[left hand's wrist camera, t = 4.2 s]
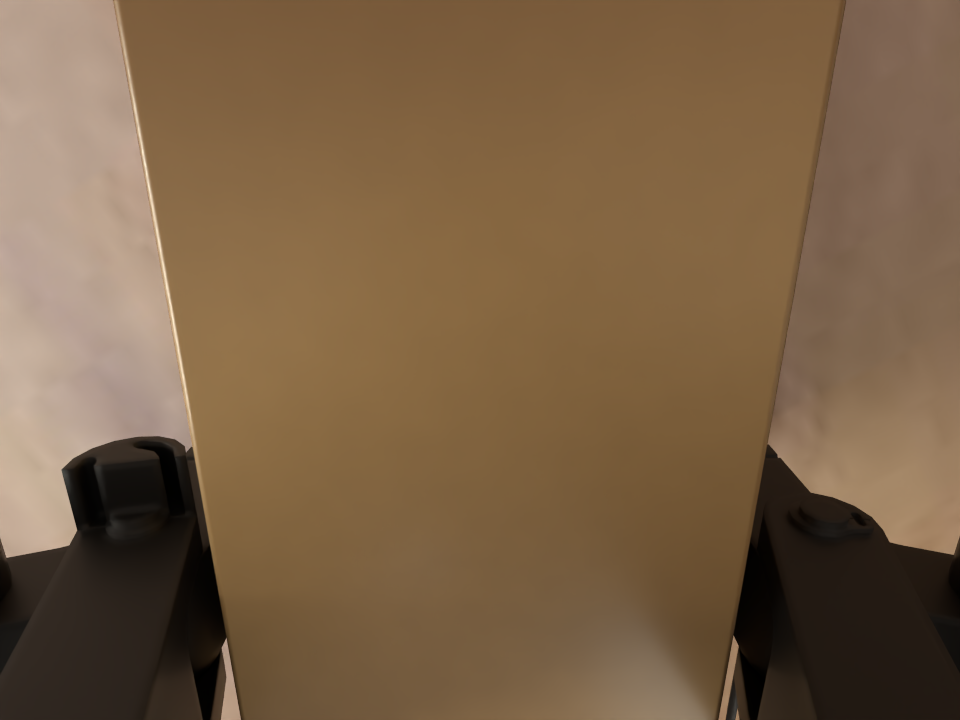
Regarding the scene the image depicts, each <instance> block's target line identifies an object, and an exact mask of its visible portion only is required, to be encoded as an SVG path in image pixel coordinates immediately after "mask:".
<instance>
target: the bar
mask: <svg viewBox="0 0 960 720" xmlns="http://www.w3.org/2000/svg"><path fill="white" fill-rule="evenodd" d="M113 2H114V8H115V13H116V19H117V24H118V30H119V36H120V41H121V47H122V52H123V58H124V64H125V69H126V75H127V81H128V86H129V92H130V97H131V103H132V109H133V114H134V120H135V126H136V131H137V137H138V142H139V148H140V154H141V159H142V165H143V171H144V176H145V182H146V187H147V193H148V199H149V204H150V210H151V216H152V221H153V227H154V232H155V238H156V244H157V249H158V255H159V260H160V266H161V272H162V277H163V283H164V289H165V294H166V300H167V305H168V311H169V317H170V322H171V328H172V334H173V339H174V345H175V350H176V356H177V362H178V367H179V373H180V379H181V384H182V390H183V395H184V401H185V407H186V412H187V418H188V424H189V429H190V435H191V440H192V446H193V452H194V457H195V463H196V468H197V474H198V480H199V485H200V491H201V497H202V502H203V508H204V513H205V519H206V525H207V530H208V536H209V542H210V547H211V553H212V558H213V564H214V570H215V575H216V581H217V587H218V592H219V598H220V603H221V609H222V615H223V620H224V626H225V632H226V637H227V643H228V648H229V654H230V660H231V665H232V671H233V676H234V682H235V688H236V693H237V699H238V705H239V710H240V716H241V720H718V719H719V713H720V707H721V702H722V696H723V691H724V685H725V679H726V674H727V668H728V662H729V657H730V651H731V646H732V640H733V634H734V629H735V623H736V617H737V612H738V606H739V601H740V595H741V589H742V584H743V578H744V572H745V567H746V561H747V556H748V550H749V544H750V539H751V533H752V527H753V522H754V516H755V510H756V505H757V499H758V494H759V488H760V482H761V477H762V471H763V465H764V460H765V454H766V449H767V443H768V437H769V432H770V426H771V420H772V415H773V409H774V404H775V398H776V392H777V387H778V381H779V375H780V370H781V364H782V359H783V353H784V347H785V342H786V336H787V330H788V325H789V319H790V314H791V308H792V302H793V297H794V291H795V285H796V280H797V274H798V269H799V263H800V257H801V252H802V246H803V240H804V235H805V229H806V224H807V218H808V212H809V207H810V201H811V195H812V190H813V184H814V179H815V173H816V167H817V162H818V156H819V150H820V145H821V139H822V134H823V128H824V122H825V117H826V111H827V105H828V100H829V94H830V89H831V83H832V77H833V72H834V66H835V60H836V55H837V49H838V43H839V38H840V32H841V27H842V21H843V15H844V10H845V4H846V0H113Z"/></svg>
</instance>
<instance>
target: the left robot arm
mask: <svg viewBox="0 0 960 720" xmlns="http://www.w3.org/2000/svg"><path fill="white" fill-rule="evenodd" d="M62 474H63V477H64V481H65V485H66V489H67V493H68V496H69V500H70V504H71V508H72V512H73V515H74V519H75V523H76V527H77V532H76V534H75V536H74V538H73V540H72V542H71V544H70V545H69V546H66V547H62V548H57V549H52V550H47V551H41V552H36V553H31V554H25V555H20V556H15V557H9V558H6V555H5V552H4V549H3V546H2V543H1V539H0V720H221V713H222V706H223V698H224V691H225V683H226V672H225V664H224V659H223V653H222V646H223V644H224V642H225V640H226V632H225V626H224V620H223V615H222V609H221V603H220V598H219V592H218V587H217V581H216V575H215V570H214V564H213V558H212V553H211V547H210V542H209V536H208V530H207V525H206V519H205V513H204V508H203V502H202V497H201V491H200V485H199V480H198V474H197V468H196V463H195V457H194V452H193V447H191V448H190V449H189V450H188V451H187V452H186V451H185V446H184V445H182V444H181V443H179V442H178V441H176V440H175V439H170V438H165V437H160V436H152V437H134V438H129V439H123V440H118V441H113V442H110V443H107V444H104V445H101V446H98V447H95V448H92V449H90V450H88V451H87V452H85V453H83V454H81V455H79V456H77V457H75V458H73V459H72V460H71V461H70V462H69V463H68V464H67V465H66V466H65V467H64V468H63V469H62ZM733 635H734V637H735V639H736V641H737V643H738V645H739V648H738V653H737V659H736V664H735V670H734V675H733V681H732V686H731V692H730V697H729V703H728V708H727V715H726V720H735V718H736V713H737V709H738V712H739V719H740V720H960V538H959V541H958V544H957V547H956V550H955V553H954V555H951V554H946V553H940V552H935V551H929V550H924V549H919V548H913V547H908V546H903V545H898V544H894V543H890V542H889V540H888V539H887V537H886V535H885V533H884V531H883V529H882V528H881V527H880V526H879V525H878V524H877V523H876V521H875V520H874V519H873V518H872V517H871V516H869V515H868V514H866V513H864V512H863V511H861V510H860V509H858V508H857V507H855V506H853V505H851V504H848V503H846V502H843V501H841V500H838V499H835V498H833V497H828V496H824V495H819V494H814V493H810V492H809V490H808V489H807V488H806V487H805V486H804V485H803V483H802V482H801V481H800V480H799V479H798V478H797V477H796V475H795V474H794V473H793V472H792V471H791V470H790V468H789V467H788V466H787V465H786V464H785V463H784V462H783V460H782V459H781V458H778V457H777V454H776V452H775V451H774V450H773V449H772V448H771V447H770V445H767V449H766V454H765V460H764V465H763V471H762V477H761V482H760V488H759V494H758V499H757V505H756V510H755V516H754V522H753V527H752V533H751V539H750V544H749V550H748V556H747V561H746V567H745V572H744V578H743V584H742V589H741V595H740V601H739V606H738V612H737V617H736V623H735V629H734V634H733Z"/></svg>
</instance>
